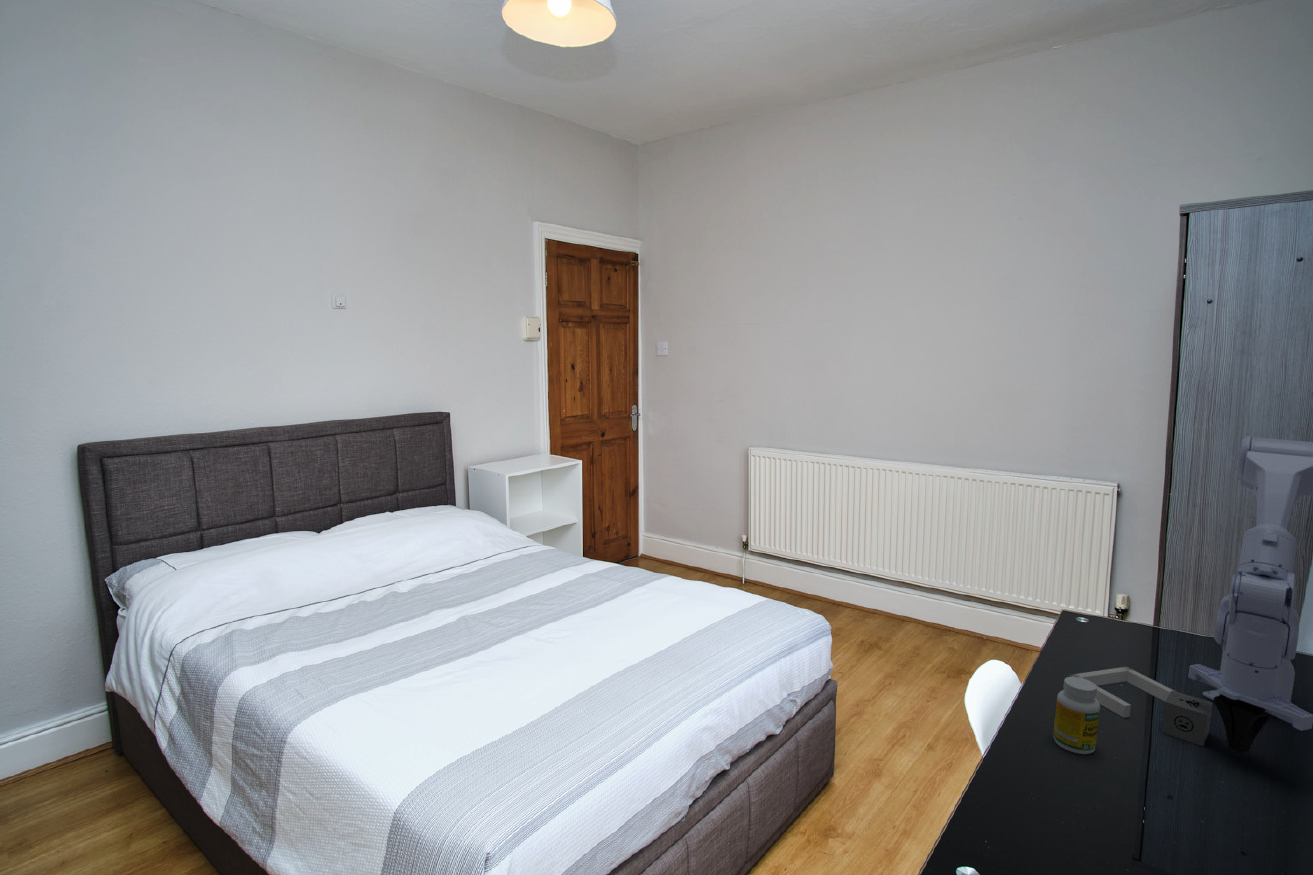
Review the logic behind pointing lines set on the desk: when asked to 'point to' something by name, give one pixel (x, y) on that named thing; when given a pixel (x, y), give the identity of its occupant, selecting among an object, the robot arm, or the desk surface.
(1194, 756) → the desk surface
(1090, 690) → the supplement bottle
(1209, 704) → the dice cube
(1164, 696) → the grey angular bar shape
